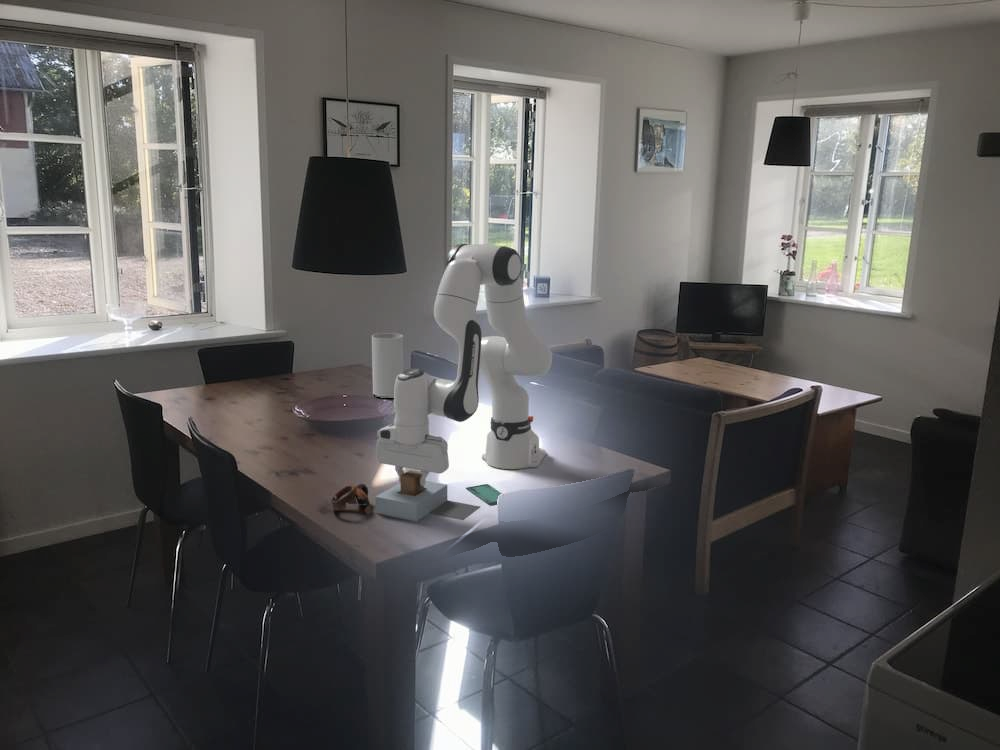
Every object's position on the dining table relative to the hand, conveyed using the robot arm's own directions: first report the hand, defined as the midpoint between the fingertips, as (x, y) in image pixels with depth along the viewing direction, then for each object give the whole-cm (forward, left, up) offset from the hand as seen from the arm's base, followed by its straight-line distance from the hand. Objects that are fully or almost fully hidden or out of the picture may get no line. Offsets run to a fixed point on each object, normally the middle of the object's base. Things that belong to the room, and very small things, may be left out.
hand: (412, 483), depth 207 cm
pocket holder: (0, 0, -7) cm, 7 cm away
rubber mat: (-3, +11, -7) cm, 13 cm away
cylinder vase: (-101, -73, -7) cm, 125 cm away
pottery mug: (+8, -12, -7) cm, 17 cm away
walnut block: (0, 0, -6) cm, 6 cm away
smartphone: (-17, +14, -8) cm, 23 cm away
